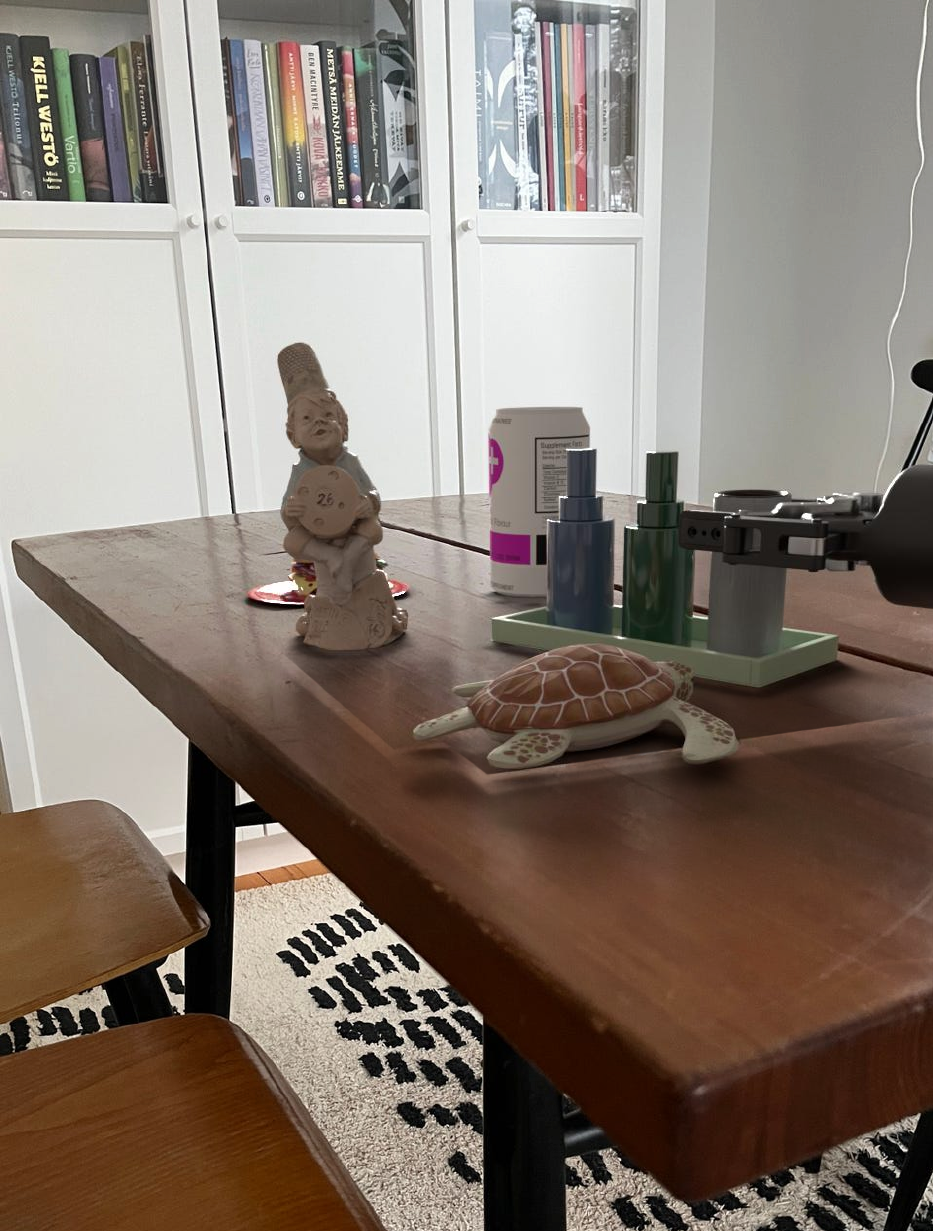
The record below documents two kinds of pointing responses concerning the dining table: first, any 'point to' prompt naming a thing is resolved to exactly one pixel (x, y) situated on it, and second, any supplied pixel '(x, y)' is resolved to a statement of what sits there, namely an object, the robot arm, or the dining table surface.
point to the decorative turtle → (583, 707)
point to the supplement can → (527, 490)
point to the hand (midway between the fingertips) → (722, 521)
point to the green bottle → (658, 561)
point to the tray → (678, 647)
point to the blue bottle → (581, 552)
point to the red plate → (307, 584)
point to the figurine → (333, 517)
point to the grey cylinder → (746, 588)
